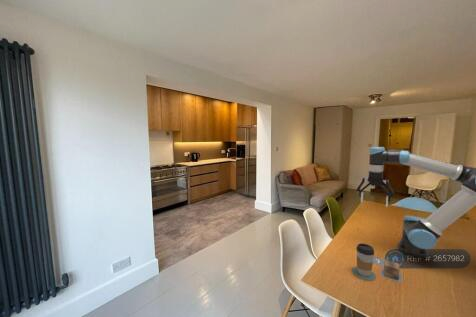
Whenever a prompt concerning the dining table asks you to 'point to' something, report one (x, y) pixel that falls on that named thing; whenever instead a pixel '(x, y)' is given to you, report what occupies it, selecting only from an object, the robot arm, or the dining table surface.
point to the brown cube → (391, 269)
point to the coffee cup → (364, 259)
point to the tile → (378, 261)
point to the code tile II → (391, 278)
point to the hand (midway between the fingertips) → (373, 204)
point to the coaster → (370, 278)
